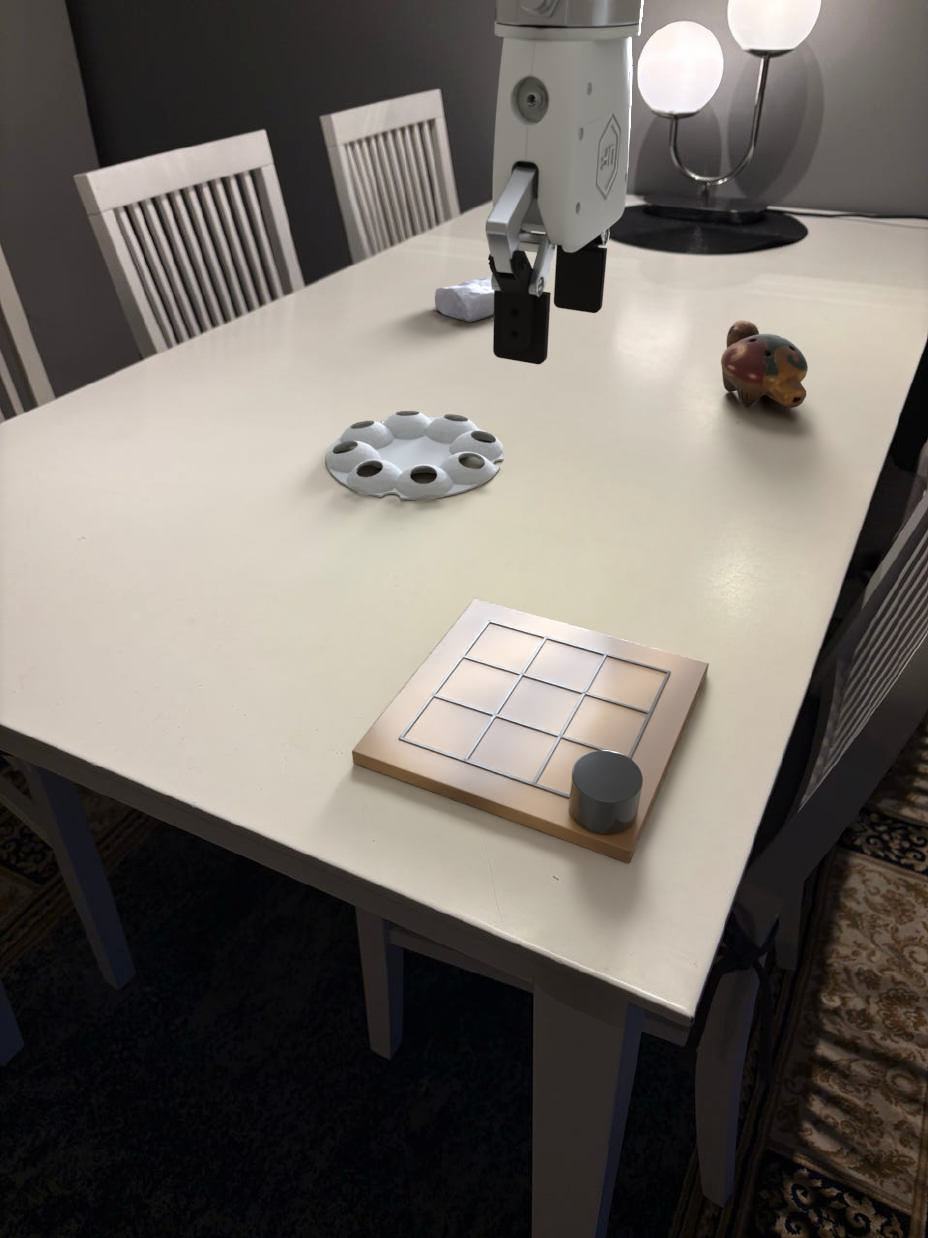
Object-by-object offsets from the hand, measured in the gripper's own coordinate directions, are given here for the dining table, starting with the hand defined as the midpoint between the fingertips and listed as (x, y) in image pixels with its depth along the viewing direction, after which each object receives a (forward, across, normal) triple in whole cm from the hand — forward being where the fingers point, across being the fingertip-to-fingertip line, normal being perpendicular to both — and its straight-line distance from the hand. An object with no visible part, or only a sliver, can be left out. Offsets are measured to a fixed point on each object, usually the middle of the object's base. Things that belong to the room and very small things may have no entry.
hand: (550, 332), depth 57 cm
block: (+26, +75, +40) cm, 89 cm away
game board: (+26, -6, -3) cm, 27 cm away
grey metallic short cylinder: (+25, -14, -10) cm, 30 cm away
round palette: (+26, +27, +25) cm, 45 cm away
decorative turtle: (+26, +59, -6) cm, 65 cm away
